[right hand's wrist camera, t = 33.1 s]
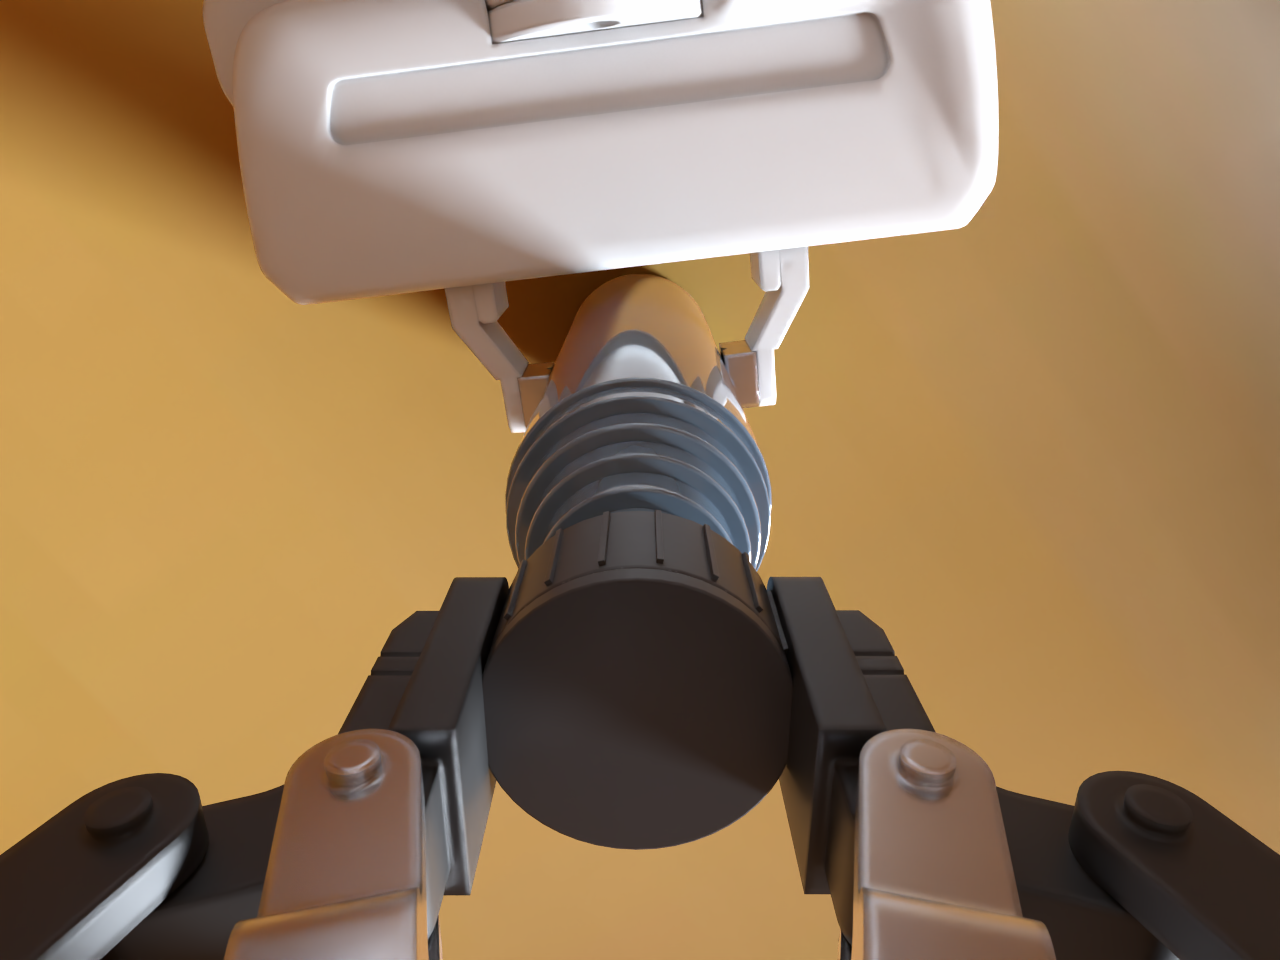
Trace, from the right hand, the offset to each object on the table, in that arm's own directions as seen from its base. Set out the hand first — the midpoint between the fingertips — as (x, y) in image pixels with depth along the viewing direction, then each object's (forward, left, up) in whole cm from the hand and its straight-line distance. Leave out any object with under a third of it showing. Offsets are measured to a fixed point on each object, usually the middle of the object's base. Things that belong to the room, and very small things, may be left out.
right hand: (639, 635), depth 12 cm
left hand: (+1, -1, -15) cm, 15 cm away
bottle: (0, 0, -21) cm, 21 cm away
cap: (0, 0, +2) cm, 2 cm away
